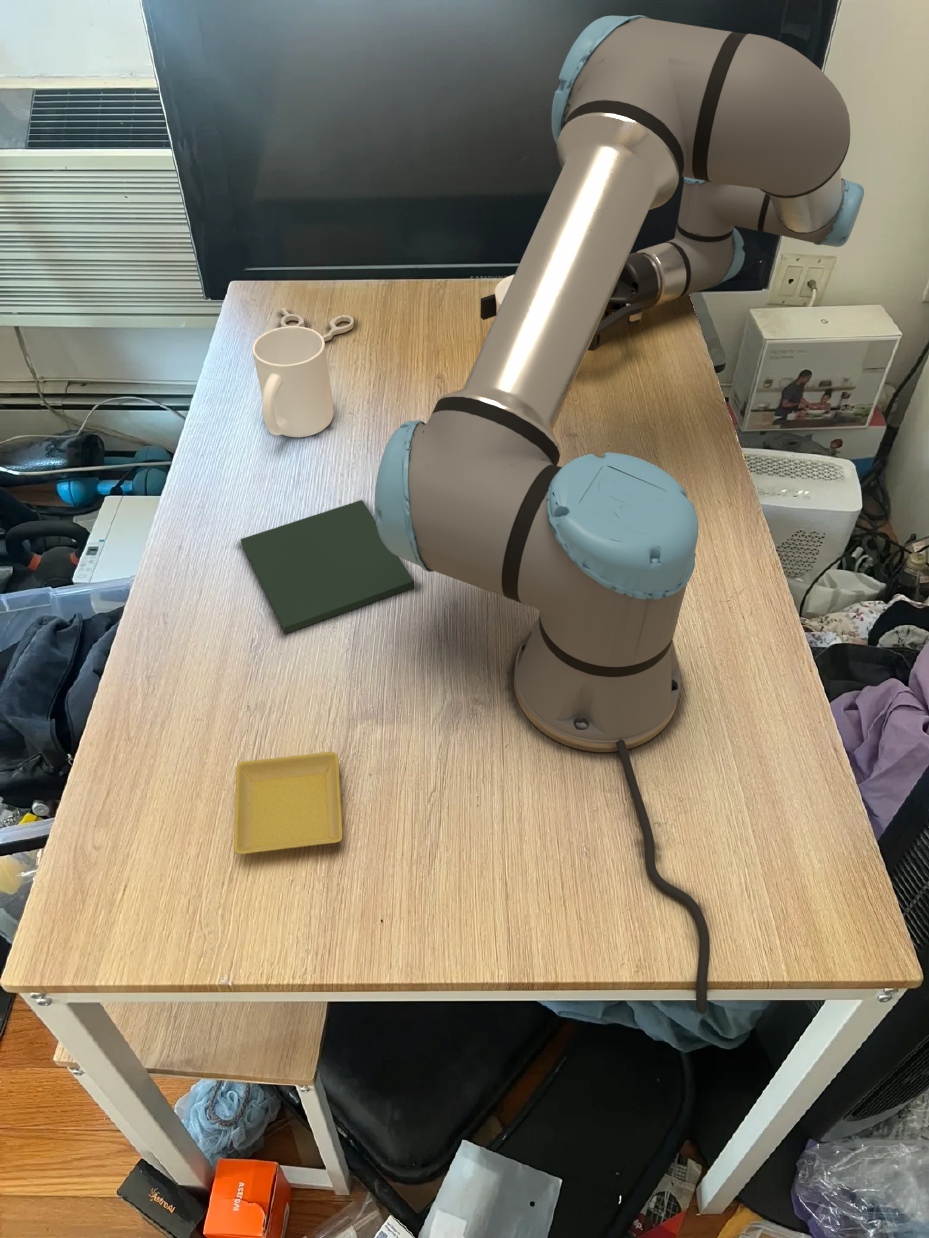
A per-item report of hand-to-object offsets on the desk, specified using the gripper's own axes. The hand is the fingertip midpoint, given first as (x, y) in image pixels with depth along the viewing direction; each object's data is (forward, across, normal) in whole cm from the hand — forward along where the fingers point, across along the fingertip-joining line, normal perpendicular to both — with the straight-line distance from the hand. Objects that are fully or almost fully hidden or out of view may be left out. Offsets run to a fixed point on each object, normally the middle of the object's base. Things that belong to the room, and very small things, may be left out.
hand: (504, 328), depth 115 cm
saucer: (+51, -45, -6) cm, 68 cm away
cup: (-4, 0, -6) cm, 8 cm away
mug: (+29, +3, -6) cm, 29 cm away
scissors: (+20, +17, -6) cm, 27 cm away
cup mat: (+36, -21, -6) cm, 42 cm away
